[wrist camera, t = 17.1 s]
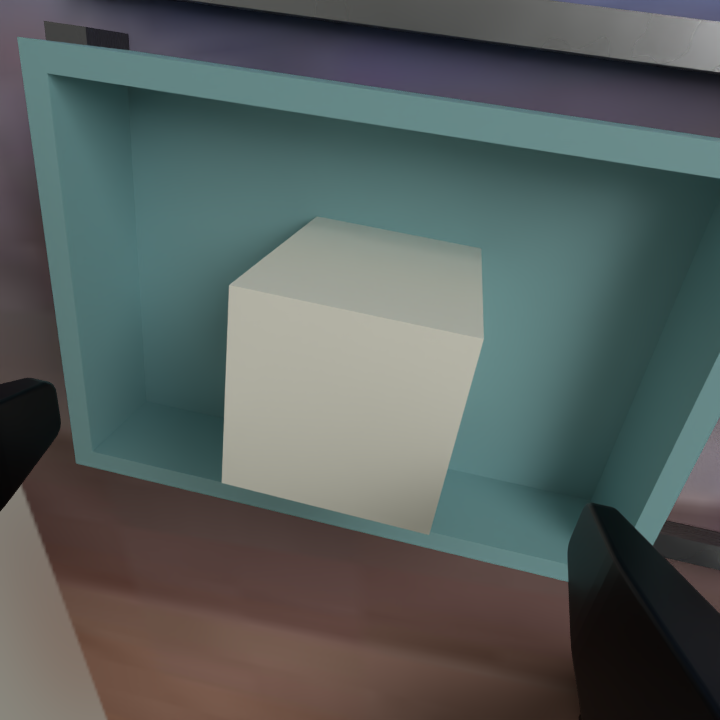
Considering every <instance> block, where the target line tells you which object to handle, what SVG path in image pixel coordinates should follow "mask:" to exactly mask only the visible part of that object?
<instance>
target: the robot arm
mask: <svg viewBox="0 0 720 720" xmlns="http://www.w3.org/2000/svg"><path fill="white" fill-rule="evenodd" d="M60 425H61V420H60V413H59V407H58V400H57V393H56V389H55V387H54V385H53V384H51V383H50V382H47V381H43V380H38V379H34V378H24V379H20V380H16V381H12V382H7V383H3V384H0V511H1V510H2V509H3V507H4V506H5V505H6V504H7V503H8V501H9V500H10V499H11V497H12V496H13V495H14V494H15V492H16V491H17V490H18V488H19V487H20V485H21V484H22V483H23V481H24V480H25V479H26V477H27V476H28V475H29V473H30V472H31V471H32V469H33V468H34V466H35V465H36V464H37V462H38V461H39V460H40V458H41V457H42V456H43V454H44V453H45V452H46V450H47V449H48V447H49V446H50V445H51V443H52V442H53V441H54V439H55V438H56V436H57V435H58V432H59V430H60ZM567 561H568V587H569V613H570V636H571V650H572V658H573V666H574V672H575V679H576V685H577V691H578V698H579V704H580V711H581V714H580V716H579V720H720V613H719V612H718V611H717V610H716V609H715V608H714V607H713V606H712V605H711V604H710V603H709V602H708V601H707V600H706V599H705V598H704V597H703V596H702V595H701V594H700V593H699V592H698V591H697V590H696V589H695V588H694V587H693V586H692V585H691V584H690V583H689V582H688V581H687V580H686V579H685V578H684V577H683V576H682V575H681V574H680V573H679V572H678V571H677V570H676V569H675V568H674V567H673V566H672V565H671V564H670V563H669V562H668V561H667V560H666V559H665V558H664V557H663V556H662V555H661V554H660V553H659V552H658V551H657V549H656V548H655V547H654V546H653V545H652V544H651V543H650V542H649V541H648V540H647V539H646V538H645V537H644V536H643V535H642V534H641V533H640V532H639V531H638V530H637V529H636V528H635V527H634V526H633V525H632V524H631V523H630V522H629V521H628V520H627V519H626V518H625V517H624V516H623V515H622V514H621V513H620V512H619V511H618V510H617V509H615V508H614V507H610V506H606V505H601V504H597V503H592V502H590V503H587V504H586V505H585V506H584V507H583V509H582V512H581V514H580V516H579V519H578V521H577V523H576V526H575V528H574V531H573V533H572V535H571V538H570V541H569V544H568V551H567Z"/></svg>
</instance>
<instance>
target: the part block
mask: <svg viewBox="0 0 720 720" xmlns="http://www.w3.org/2000/svg"><path fill="white" fill-rule="evenodd" d="M483 340H484V326H483V292H482V257H481V248H476V247H471V246H466V245H461V244H456V243H451V242H446V241H441V240H435V239H430V238H425V237H420V236H415V235H410V234H405V233H400V232H395V231H389V230H384V229H379V228H374V227H369V226H364V225H359V224H354V223H348V222H343V221H338V220H333V219H328V218H323V217H318V216H317V217H316V218H314V219H313V220H312V221H310V222H309V223H308V224H307V225H305V226H304V227H303V228H301V229H300V230H299V231H298V232H296V233H295V234H294V235H292V236H291V237H290V238H289V239H287V240H286V241H285V242H284V243H282V244H281V245H280V246H278V247H277V248H276V249H275V250H273V251H272V252H271V253H269V254H268V255H267V256H266V257H264V258H263V259H262V260H260V261H259V262H258V263H257V264H255V265H254V266H253V267H251V268H250V269H249V270H248V271H246V272H245V273H244V274H243V275H241V276H240V277H239V278H237V279H236V280H235V281H234V282H232V283H231V284H230V285H229V300H228V327H227V353H226V380H225V407H224V433H223V460H222V483H224V484H228V485H232V486H236V487H240V488H244V489H248V490H252V491H256V492H260V493H264V494H268V495H272V496H276V497H280V498H284V499H288V500H292V501H296V502H300V503H304V504H308V505H312V506H316V507H320V508H324V509H328V510H331V511H335V512H339V513H343V514H347V515H351V516H355V517H359V518H363V519H367V520H371V521H375V522H379V523H383V524H387V525H391V526H395V527H399V528H403V529H407V530H411V531H415V532H419V533H423V534H427V535H429V534H430V530H431V526H432V523H433V519H434V516H435V512H436V508H437V505H438V501H439V498H440V494H441V491H442V487H443V483H444V480H445V476H446V473H447V469H448V466H449V462H450V458H451V455H452V451H453V448H454V444H455V441H456V437H457V433H458V430H459V426H460V423H461V419H462V416H463V412H464V408H465V405H466V401H467V398H468V394H469V391H470V387H471V383H472V380H473V376H474V373H475V369H476V366H477V362H478V358H479V355H480V351H481V348H482V344H483Z"/></svg>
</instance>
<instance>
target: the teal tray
mask: <svg viewBox="0 0 720 720" xmlns="http://www.w3.org/2000/svg"><path fill="white" fill-rule="evenodd" d="M17 39H18V46H19V53H20V61H21V68H22V75H23V82H24V89H25V97H26V104H27V111H28V118H29V126H30V133H31V140H32V147H33V155H34V162H35V169H36V176H37V184H38V191H39V198H40V205H41V213H42V220H43V227H44V234H45V242H46V249H47V256H48V263H49V271H50V278H51V285H52V292H53V300H54V307H55V314H56V321H57V329H58V336H59V343H60V350H61V358H62V365H63V372H64V379H65V387H66V394H67V401H68V408H69V416H70V423H71V430H72V437H73V444H74V452H75V459H76V463H77V464H81V465H85V466H89V467H94V468H98V469H102V470H106V471H110V472H114V473H118V474H123V475H127V476H131V477H135V478H139V479H143V480H148V481H152V482H156V483H160V484H164V485H168V486H172V487H177V488H181V489H185V490H189V491H193V492H197V493H202V494H206V495H210V496H214V497H218V498H222V499H226V500H231V501H235V502H239V503H243V504H247V505H251V506H256V507H260V508H264V509H268V510H272V511H276V512H280V513H285V514H289V515H293V516H297V517H301V518H305V519H310V520H314V521H318V522H322V523H326V524H330V525H334V526H339V527H343V528H347V529H351V530H355V531H359V532H364V533H368V534H372V535H376V536H380V537H384V538H388V539H393V540H397V541H401V542H405V543H409V544H413V545H418V546H422V547H426V548H430V549H434V550H438V551H442V552H447V553H451V554H455V555H459V556H463V557H467V558H472V559H476V560H480V561H484V562H488V563H492V564H496V565H501V566H505V567H509V568H513V569H517V570H521V571H526V572H530V573H534V574H538V575H542V576H546V577H550V578H555V579H559V580H563V581H567V582H568V561H567V551H568V544H569V541H570V538H571V535H572V533H573V531H574V528H575V526H576V523H577V521H578V519H579V516H580V514H581V512H582V509H583V507H584V506H585V505H586V504H587V503H590V502H592V503H597V504H601V505H606V506H610V507H614V508H615V509H617V510H618V511H619V512H620V513H621V514H622V515H623V516H624V517H625V518H626V519H627V520H628V521H629V522H630V523H631V524H632V525H633V526H634V527H635V528H636V529H637V530H638V531H639V532H640V533H641V534H642V535H643V536H644V537H645V538H646V539H647V540H648V541H649V542H650V543H651V544H652V545H653V544H654V542H655V540H656V539H657V537H658V535H659V533H660V531H661V529H662V527H663V525H664V523H665V521H666V519H667V517H668V515H669V513H670V511H671V510H672V508H673V506H674V504H675V502H676V500H677V498H678V496H679V494H680V492H681V490H682V488H683V486H684V484H685V483H686V481H687V479H688V477H689V475H690V473H691V471H692V469H693V467H694V465H695V463H696V461H697V459H698V457H699V455H700V454H701V452H702V450H703V448H704V446H705V444H706V442H707V440H708V438H709V436H710V434H711V432H712V430H713V428H714V427H715V425H716V423H717V421H718V419H719V417H720V138H715V137H708V136H702V135H695V134H688V133H681V132H675V131H668V130H661V129H654V128H648V127H641V126H634V125H628V124H621V123H614V122H607V121H601V120H594V119H587V118H580V117H574V116H567V115H560V114H554V113H547V112H540V111H533V110H527V109H520V108H513V107H506V106H500V105H493V104H486V103H480V102H473V101H466V100H459V99H453V98H446V97H439V96H433V95H426V94H419V93H412V92H406V91H399V90H392V89H385V88H379V87H372V86H365V85H359V84H352V83H345V82H338V81H332V80H325V79H318V78H311V77H305V76H298V75H291V74H285V73H278V72H271V71H264V70H258V69H251V68H244V67H237V66H231V65H224V64H217V63H211V62H204V61H197V60H190V59H184V58H177V57H170V56H163V55H157V54H150V53H143V52H137V51H130V50H122V49H114V48H106V47H97V46H89V45H81V44H72V43H64V42H55V41H47V40H39V39H30V38H22V37H17ZM317 216H318V217H323V218H328V219H333V220H338V221H343V222H348V223H354V224H359V225H364V226H369V227H374V228H379V229H384V230H389V231H395V232H400V233H405V234H410V235H415V236H420V237H425V238H430V239H435V240H441V241H446V242H451V243H456V244H461V245H466V246H471V247H476V248H481V257H482V292H483V326H484V340H483V344H482V348H481V351H480V355H479V358H478V362H477V366H476V369H475V373H474V376H473V380H472V383H471V387H470V391H469V394H468V398H467V401H466V405H465V408H464V412H463V416H462V419H461V423H460V426H459V430H458V433H457V437H456V441H455V444H454V448H453V451H452V455H451V458H450V462H449V466H448V469H447V473H446V476H445V480H444V483H443V487H442V491H441V494H440V498H439V501H438V505H437V508H436V512H435V516H434V519H433V523H432V526H431V530H430V534H429V535H427V534H423V533H419V532H415V531H411V530H407V529H403V528H399V527H395V526H391V525H387V524H383V523H379V522H375V521H371V520H367V519H363V518H359V517H355V516H351V515H347V514H343V513H339V512H335V511H331V510H328V509H324V508H320V507H316V506H312V505H308V504H304V503H300V502H296V501H292V500H288V499H284V498H280V497H276V496H272V495H268V494H264V493H260V492H256V491H252V490H248V489H244V488H240V487H236V486H232V485H228V484H224V483H222V460H223V433H224V407H225V380H226V353H227V327H228V300H229V285H230V284H231V283H232V282H234V281H235V280H236V279H237V278H239V277H240V276H241V275H243V274H244V273H245V272H246V271H248V270H249V269H250V268H251V267H253V266H254V265H255V264H257V263H258V262H259V261H260V260H262V259H263V258H264V257H266V256H267V255H268V254H269V253H271V252H272V251H273V250H275V249H276V248H277V247H278V246H280V245H281V244H282V243H284V242H285V241H286V240H287V239H289V238H290V237H291V236H292V235H294V234H295V233H296V232H298V231H299V230H300V229H301V228H303V227H304V226H305V225H307V224H308V223H309V222H310V221H312V220H313V219H314V218H316V217H317Z"/></svg>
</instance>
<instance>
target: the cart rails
mask: <svg viewBox="0 0 720 720" xmlns="http://www.w3.org/2000/svg"><path fill="white" fill-rule="evenodd" d="M174 1H182V2H189V3H196V4H203V5H211V6H218V7H225V8H233V9H240V10H247V11H255V12H262V13H269V14H277V15H284V16H291V17H299V18H306V19H313V20H321V21H328V22H335V23H343V24H350V25H357V26H365V27H372V28H379V29H387V30H394V31H401V32H408V33H416V34H423V35H430V36H438V37H445V38H452V39H460V40H467V41H474V42H482V43H489V44H496V45H504V46H511V47H518V48H526V49H533V50H540V51H548V52H555V53H562V54H570V55H577V56H584V57H592V58H599V59H606V60H614V61H621V62H628V63H635V64H643V65H650V66H657V67H665V68H672V69H679V70H687V71H694V72H701V73H709V74H716V75H720V22H716V21H708V20H700V19H692V18H684V17H676V16H668V15H660V14H653V13H645V12H637V11H629V10H621V9H613V8H605V7H597V6H589V5H581V4H573V3H565V2H558V1H550V0H174ZM44 26H45V34H46V40H47V41H55V42H64V43H72V44H81V45H89V46H97V47H106V48H114V49H122V50H129V38H128V34H125V33H119V32H112V31H106V30H100V29H94V28H88V27H82V26H75V25H68V24H61V23H54V22H47V21H44ZM653 546H654V547H655V548H656V549H657V551H658V552H659V553H660V554H661V555H662V556H663V557H665V558H669V559H674V560H678V561H682V562H687V563H691V564H695V565H700V566H704V567H708V568H713V569H717V570H720V533H719V532H714V531H710V530H705V529H701V528H696V527H692V526H687V525H683V524H678V523H674V522H670V521H665V523H664V525H663V527H662V529H661V531H660V533H659V535H658V537H657V539H656V540H655V542H654V544H653Z"/></svg>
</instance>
